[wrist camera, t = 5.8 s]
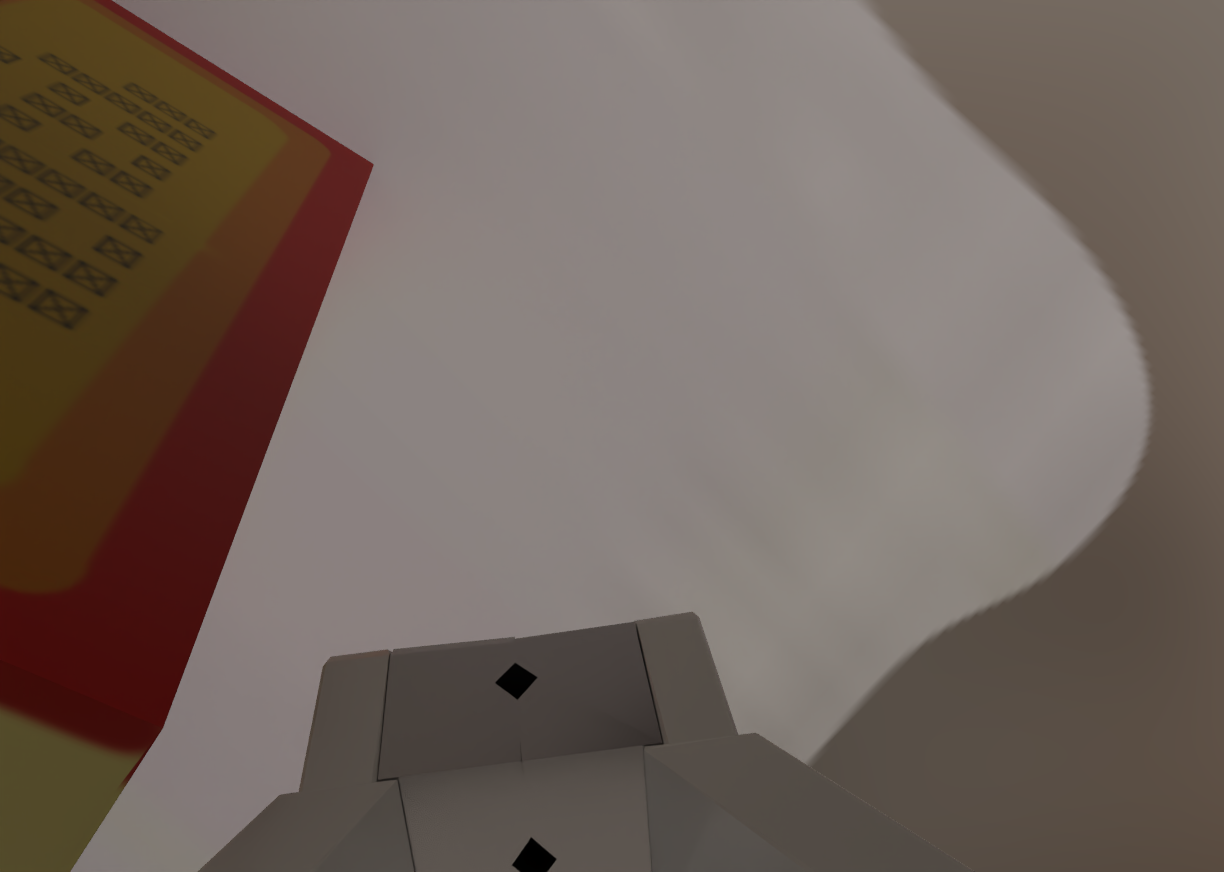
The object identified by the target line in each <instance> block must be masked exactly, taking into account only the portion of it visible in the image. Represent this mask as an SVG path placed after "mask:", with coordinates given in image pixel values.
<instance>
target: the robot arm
mask: <svg viewBox="0 0 1224 872" xmlns="http://www.w3.org/2000/svg"><path fill="white" fill-rule="evenodd" d="M198 872H975V871H973V870H971V869H970V868H968V867H967V866H965V865H964V864H962V863H960V862H959V861H957V860H956V859H954V858H953V857H951V856H949V855H948V854H946V853H945V852H943V851H941V850H940V849H938V848H937V847H935V846H934V845H932V844H931V843H929V842H927V841H926V840H924V839H922V838H921V837H920V836H918V835H916V834H915V833H913V832H912V831H910V830H908V829H907V828H905V827H904V826H902V825H901V824H899V823H897V822H896V821H894V820H893V819H891V818H890V817H888V816H886V815H885V814H883V813H882V812H880V811H879V810H877V809H875V808H874V807H872V806H871V805H869V804H868V803H866V802H864V801H863V800H861V799H860V798H858V797H857V796H855V795H853V794H852V793H850V792H849V791H847V790H846V789H844V788H842V787H841V786H839V785H838V784H836V783H834V782H833V781H831V780H830V779H828V778H827V777H825V776H823V775H822V774H820V773H819V772H817V771H815V770H814V769H812V768H811V767H809V766H808V765H806V764H805V763H803V762H801V761H800V760H798V759H797V758H795V757H794V756H792V755H790V754H789V753H787V752H786V751H784V750H783V749H781V748H779V747H778V746H776V745H775V744H773V743H771V742H770V741H768V740H767V739H765V738H764V737H762V736H760V735H759V734H757V733H751V734H743V735H738V732H737V729H736V726H735V723H734V720H733V717H732V714H731V711H730V708H729V705H728V702H727V699H726V696H725V693H724V690H723V687H722V684H721V681H720V678H719V675H718V672H717V669H716V666H715V663H714V660H713V657H712V654H711V651H710V648H709V645H708V642H707V639H706V636H705V633H704V630H703V627H702V624H701V621H700V618H699V617H698V616H697V615H696V614H695V613H693V612H687V613H681V614H675V615H668V616H662V617H656V618H649V619H643V620H637V621H634V622H630V623H622V624H615V625H608V626H601V627H594V628H587V629H580V630H573V631H566V632H559V633H551V634H544V635H537V636H530V637H523V638H516V639H515V637H509V638H499V639H489V640H480V641H470V642H460V643H450V644H440V645H430V646H420V647H410V648H401V649H394V650H393V652H391V651H389V650H380V651H372V652H364V653H356V654H348V655H341V656H333V657H330V658H329V660H328V661H327V662H326V663H325V665H324V666H323V669H322V674H321V679H320V684H319V690H318V695H317V700H316V705H315V710H314V716H313V721H312V726H311V731H310V736H309V742H308V747H307V752H306V757H305V762H304V767H303V773H302V778H301V783H300V788H299V792H296V793H289V794H282V795H279V796H278V797H277V798H276V799H275V800H274V801H273V802H272V803H271V804H269V805H268V806H267V807H266V808H265V809H264V810H263V811H262V812H261V813H260V814H259V815H258V816H257V817H256V818H254V819H253V820H252V821H251V822H250V823H249V824H248V825H247V826H246V827H245V828H244V829H243V830H242V831H241V832H240V833H238V834H237V835H236V836H235V837H234V838H233V839H232V840H231V841H230V842H229V843H228V844H227V845H226V846H225V847H224V848H222V849H221V850H220V851H219V852H218V853H217V854H216V855H215V856H214V857H213V858H212V859H211V860H210V861H209V862H207V863H206V864H205V865H204V866H203V867H202V868H201V869H200V870H199V871H198Z"/></svg>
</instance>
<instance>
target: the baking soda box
mask: <svg viewBox="0 0 1224 872" xmlns="http://www.w3.org/2000/svg"><path fill="white" fill-rule="evenodd" d="M373 165H374V164H372V163H371V162H369V161H368V160H366V159H364V158H363V157H361V156H360V155H358V154H356V153H355V152H353V151H352V150H350V149H348V148H347V147H345V146H344V145H342V144H340V143H339V142H337V141H336V140H334V139H332V138H331V137H329V136H328V135H326V134H324V133H323V132H321V131H320V130H318V129H316V128H315V127H313V126H312V125H310V124H308V123H307V122H305V121H304V120H302V119H300V118H299V117H297V116H296V115H294V114H292V113H291V112H289V111H288V110H286V109H284V108H283V107H281V106H280V105H278V104H276V103H275V102H273V101H272V100H270V99H268V98H267V97H265V96H264V95H262V94H260V93H259V92H257V91H256V90H254V89H252V88H251V87H249V86H248V85H246V84H244V83H243V82H241V81H240V80H238V79H236V78H235V77H233V76H232V75H230V74H228V73H227V72H225V71H224V70H222V69H220V68H219V67H217V66H216V65H214V64H212V63H211V62H209V61H208V60H206V59H204V58H203V57H201V56H200V55H198V54H196V53H195V52H193V51H192V50H190V49H189V48H187V47H185V46H184V45H182V44H181V43H179V42H177V41H176V40H174V39H173V38H171V37H169V36H168V35H166V34H165V33H163V32H161V31H160V30H158V29H157V28H155V27H153V26H152V25H150V24H149V23H147V22H145V21H144V20H142V19H141V18H139V17H137V16H136V15H134V14H133V13H131V12H129V11H128V10H126V9H125V8H123V7H121V6H120V5H118V4H117V3H115V2H113V1H112V0H0V872H70V871H71V870H72V868H73V866H74V865H75V863H76V862H77V860H78V859H79V857H80V856H81V854H82V852H83V851H84V849H85V848H86V846H87V845H88V843H89V842H90V840H91V839H92V837H93V835H94V834H95V832H96V831H97V829H98V828H99V826H100V825H101V823H102V822H103V820H104V818H105V817H106V815H107V814H108V812H109V811H110V809H111V808H112V806H113V805H114V803H115V801H116V800H117V798H118V797H119V795H120V794H121V792H122V791H123V789H124V787H125V786H126V784H127V783H128V781H129V780H130V778H131V777H132V775H133V774H134V772H135V770H136V769H137V767H138V766H139V764H140V763H141V761H142V760H143V758H144V757H145V755H146V753H147V752H148V750H149V749H150V747H151V746H152V744H153V743H154V741H155V740H156V738H157V736H158V735H159V733H160V732H161V730H162V729H163V726H164V724H165V721H166V718H167V716H168V713H169V710H170V708H171V705H172V702H173V700H174V697H175V694H176V692H177V689H178V686H179V684H180V681H181V678H182V676H183V673H184V670H185V668H186V665H187V662H188V660H189V657H190V654H191V652H192V649H193V646H194V644H195V641H196V638H197V636H198V633H199V630H200V628H201V625H202V622H203V619H204V617H205V614H206V611H207V609H208V606H209V603H210V601H211V598H212V595H213V593H214V590H215V587H216V585H217V582H218V579H219V577H220V574H221V571H222V569H223V566H224V563H225V561H226V558H227V555H228V553H229V550H230V547H231V545H232V542H233V539H234V537H235V534H236V531H237V529H238V526H239V523H240V521H241V518H242V515H243V513H244V510H245V507H246V505H247V502H248V499H249V497H250V494H251V491H252V489H253V486H254V483H255V481H256V478H257V475H258V473H259V470H260V467H261V465H262V462H263V459H264V457H265V454H266V451H267V449H268V446H269V443H270V440H271V438H272V435H273V432H274V430H275V427H276V424H277V422H278V419H279V416H280V414H281V411H282V408H283V406H284V403H285V400H286V398H287V395H288V392H289V390H290V387H291V384H292V382H293V379H294V376H295V374H296V371H297V368H298V366H299V363H300V360H301V358H302V355H303V352H304V350H305V347H306V344H307V342H308V339H309V336H310V334H311V331H312V328H313V326H314V323H315V320H316V318H317V315H318V312H319V310H320V307H321V304H322V302H323V299H324V296H325V294H326V291H327V288H328V286H329V283H330V280H331V278H332V275H333V272H334V270H335V267H336V264H337V261H338V259H339V256H340V253H341V251H342V248H343V245H344V243H345V240H346V237H347V235H348V232H349V229H350V227H351V224H352V221H353V219H354V216H355V213H356V211H357V208H358V205H359V203H360V200H361V197H362V195H363V192H364V189H365V187H366V184H367V181H368V179H369V176H370V173H371V171H372V168H373Z"/></svg>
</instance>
